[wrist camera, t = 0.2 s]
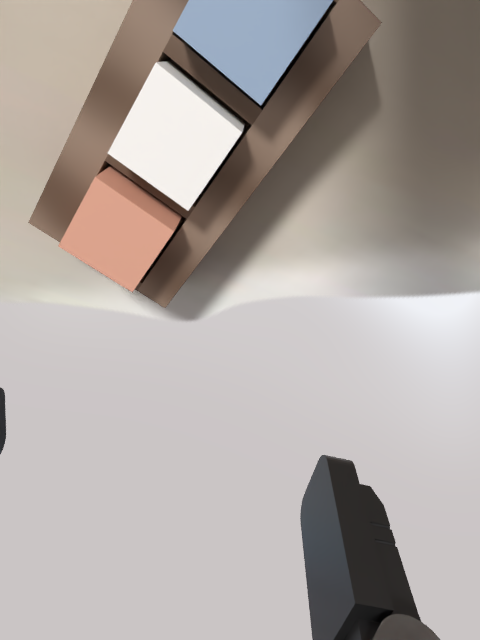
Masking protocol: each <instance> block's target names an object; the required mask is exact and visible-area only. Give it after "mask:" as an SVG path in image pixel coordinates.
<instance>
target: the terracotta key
mask: <svg viewBox="0 0 480 640" xmlns="http://www.w3.org/2000/svg"><path fill="white" fill-rule="evenodd" d="M181 218H182V215H181V214H179V213H178V212H177V211H175V210H174V209H172V208H171V207H170V206H168V205H167V204H165V203H164V202H162V201H161V200H160V199H158V198H157V197H155V196H154V195H153V194H151V193H150V192H148V191H147V190H146V189H144V188H143V187H141V186H140V185H139V184H137V183H136V182H134V181H133V180H131V179H130V178H129V177H127V176H126V175H124V174H123V173H122V172H120V171H119V170H117V169H116V168H115V167H113V166H112V165H111V166H110V167H108V168H107V169H105V170H104V171H103V172H101V173H100V174H98V175H97V176H96V177H95V178H94V180H93V182H92V183H91V185H90V187H89V189H88V191H87V193H86V195H85V197H84V199H83V200H82V202H81V204H80V206H79V208H78V210H77V212H76V214H75V215H74V217H73V219H72V221H71V223H70V225H69V227H68V229H67V231H66V232H65V234H64V236H63V238H62V240H61V242H60V244H59V247H60V248H62V249H64V250H65V251H67V252H68V253H70V254H72V255H73V256H75V257H76V258H78V259H80V260H81V261H83V262H84V263H86V264H88V265H89V266H91V267H93V268H94V269H96V270H97V271H99V272H101V273H102V274H104V275H105V276H107V277H109V278H110V279H112V280H113V281H115V282H117V283H118V284H120V285H121V286H123V287H125V288H126V289H128V290H129V291H131V292H133V291H134V289H135V288H136V286H137V285H138V283H139V282H140V280H141V279H142V278H143V276H144V275H145V273H146V272H147V270H148V269H149V267H150V266H151V264H152V263H153V262H154V260H155V259H156V257H157V256H158V254H159V253H160V251H161V250H162V248H163V247H164V246H165V244H166V243H167V241H168V240H169V238H170V237H171V235H172V234H173V232H174V231H175V229H176V227H177V225H178V223H179V221H180V220H181Z"/></svg>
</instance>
